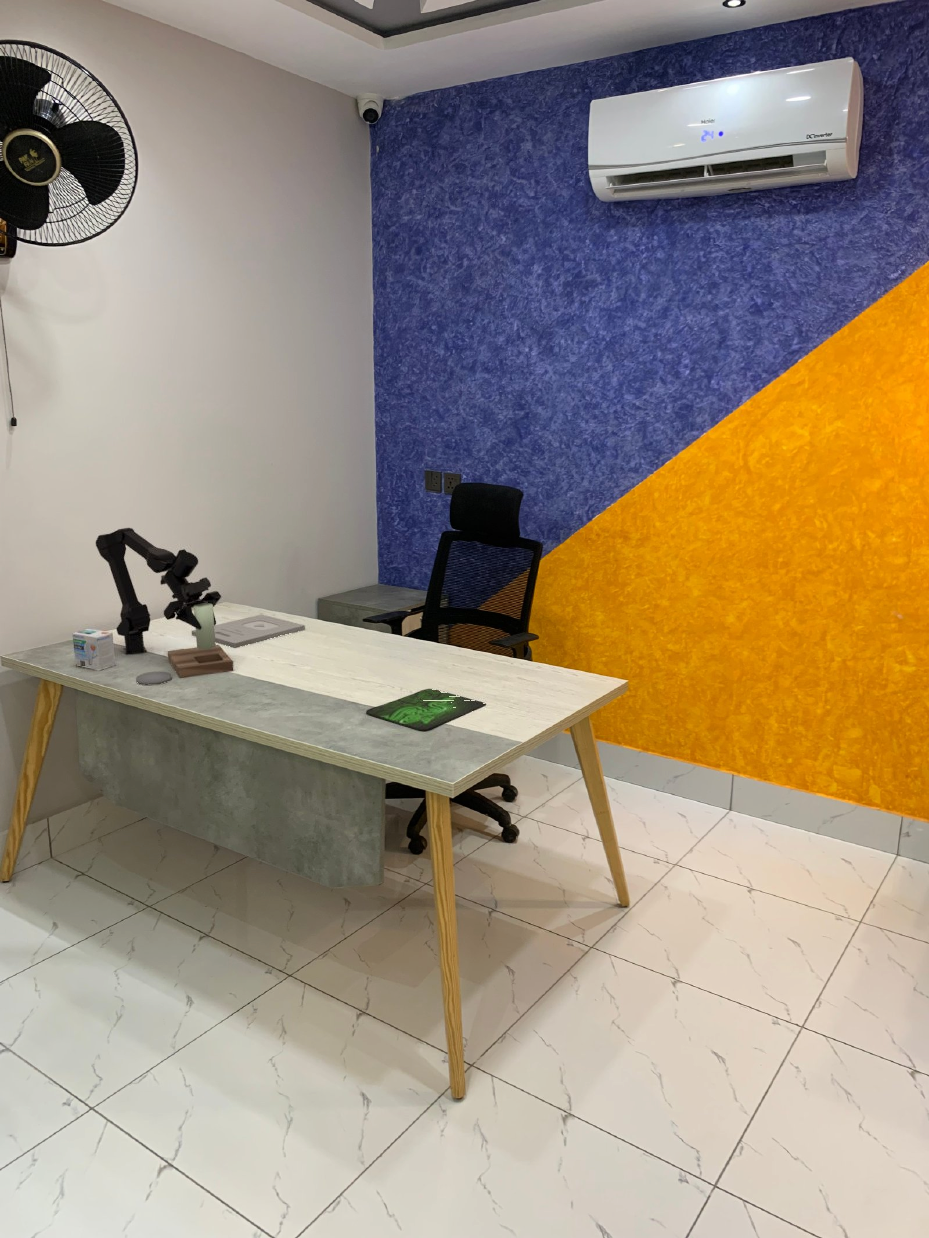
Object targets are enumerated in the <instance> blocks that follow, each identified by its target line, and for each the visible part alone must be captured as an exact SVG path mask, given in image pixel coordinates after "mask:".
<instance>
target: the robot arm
mask: <svg viewBox="0 0 929 1238" xmlns="http://www.w3.org/2000/svg"><path fill="white" fill-rule="evenodd" d="M126 546H127V547H128V548H129V549H130V550H132V551H134V552H135V553H136V554H138V555H139V556H141V558H143V559H144V560H145V562H146V565H147V567H149V569H151V571H152V572H154V573H156V574H160V573H164V572H165V573H164V574H163V575H161V576H160V578H161V579H160V585H167V587H168V588H169V589H170V591H171V592H172V595H171V598H172V599H176V600H175V601H174V600H173V601H170V602H169V603H168V604H167V606H166V607H165V609H164V610H163V616H164V617H165V619H166V620H168V621H169V620H172V619H176V621H178V620H180V622H182V623H183V622H184V623H186V624H188V625H190V626H191V627H193V628H195V629H196V628H197V629H199V630H200V629H201V628H202V627H201V625H200V623H199V622H198V620H197V619H196V617H195V615H194V613H193V609H194V605H196V604H202V603H209V604H212V605H213V608H214V607H215V606H216V605H217V604H218V602H219V601H220V599H221V598H222V595H221V594H220V592H219V591H217V590H215V591H214V590H213V591H211V592H210V591H209V590H210V589H209V588H211V586H212V584H211V581H210V580H209V579H208V577H202V578H200V579H199V580H198V581H195V582H189V580H188V579H187V578H189V577H190V576H191V574H192V573H193V571H194V570H195V569H196V567H197V566H198V565H199V559H198V557H197V556H196V555H195V554H193V553H192V552H189V551H187V550H186V549H185V548H184V549H179V550H178V552H177V554H176V555H175V553H173V552H171V551H170V550H168V549H164V548H160V547H157V546H155V545H153V543H151V542H149V541H148V540H147V539H145V538H144V537H143V536H141V535H140V534H138V533H137V532H135V529H134V528H132V527H124V528H118V529H117V530H114V531H113V532H109V533H104V534H100V535H98V536H97V538H96V540H95V547H96V548H97V551H98V553H99V555H100V557H102V559H104V560H105V561H106V562H107V563H108V566H109V569H110V572H111V575H112V578H113V581H114V583H115V587H116V590H117V593H118V596H119V599H120V602H121V611H120V614H119V615H120V620H121V621H120V622H119V624H118V625H117V627H116V628H115V629H116V632H117V633H116V634H117V635H118V636H122V637H124V645H125V646H124V648H123V652H124V654H125V655H133V654H140V653H141V654H142V653H147V652H148V651H147V649H146V646H145V644H144V632H149V630H150V625H151V614H150V612H149V609H148V605H147V604H145V603H141V602H140V601H139V599H138V596H137V593H136V590H135V588H134V585H133V581H132V579H131V575H130V572H129V569H128V567H127V563H126V561H125V557H126V552H127V547H126ZM205 591H209V592H206V593H205V595H204V596H203V593H204V592H205ZM202 596H203V598H201V597H202ZM213 616H214V625H217V621H216V617H215V612H214V610H213Z"/></svg>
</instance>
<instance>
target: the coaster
mask: <svg viewBox="0 0 929 1238" xmlns="http://www.w3.org/2000/svg"><path fill="white" fill-rule="evenodd" d="M172 677H173V676H172V673H170V672H168V671H149V672H144V673H141V674H139V675H137V676H136V678H135V681H136V683H137V682H138V683H139V684H138V683H137V684H138V685H140V684H145V685H144V686H149V685H148V684H159V685H162V684H161V683H163V684H165V683H164V682H166V683H168V682H167V681H169V682H170V681H171V680H172V679H173V678H172Z"/></svg>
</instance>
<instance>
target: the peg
mask: <svg viewBox="0 0 929 1238" xmlns="http://www.w3.org/2000/svg"><path fill="white" fill-rule="evenodd" d="M213 611H214V607H213V605H212V604H209V603H202V604H196V605H194V607H193V612H194V613H193V614H194V616H195V617H196V619H197V620H198V622H199V623H200V625H201V627H202V628H201V629H200V630H199V629H197V628H195V630H196V636H195V638H196V639H195V640H196V647H197V648H198V649H212V648H214V647H216V645H217V643H215V630H214V616H215V615H214V616H213Z"/></svg>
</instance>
